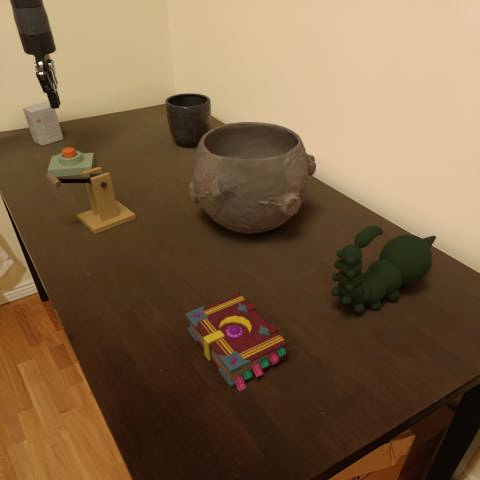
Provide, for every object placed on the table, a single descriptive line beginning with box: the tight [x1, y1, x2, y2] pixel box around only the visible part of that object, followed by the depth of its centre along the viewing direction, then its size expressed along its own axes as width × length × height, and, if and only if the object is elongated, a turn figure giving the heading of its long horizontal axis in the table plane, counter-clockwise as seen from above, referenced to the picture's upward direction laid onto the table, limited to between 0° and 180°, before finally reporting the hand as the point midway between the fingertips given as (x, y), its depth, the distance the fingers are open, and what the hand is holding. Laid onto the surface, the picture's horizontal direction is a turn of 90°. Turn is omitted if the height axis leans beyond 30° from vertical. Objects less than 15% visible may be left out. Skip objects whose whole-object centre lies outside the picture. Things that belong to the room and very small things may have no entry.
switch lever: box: [45, 172, 101, 188], centre depth 95 cm, size 12×5×2 cm, turn 130°
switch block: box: [46, 150, 96, 177], centre depth 124 cm, size 12×10×4 cm
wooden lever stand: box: [76, 166, 137, 235], centre depth 101 cm, size 11×9×12 cm
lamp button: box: [61, 147, 76, 158], centre depth 123 cm, size 4×4×2 cm
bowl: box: [188, 121, 317, 235], centre depth 97 cm, size 27×29×20 cm
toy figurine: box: [330, 224, 437, 314], centre depth 78 cm, size 9×19×25 cm
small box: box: [22, 101, 64, 147], centre depth 137 cm, size 8×6×10 cm
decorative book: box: [184, 293, 288, 392], centre depth 72 cm, size 11×16×5 cm
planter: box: [164, 92, 212, 148], centre depth 135 cm, size 14×14×13 cm
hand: (56, 106), depth 114 cm, fingers closed
